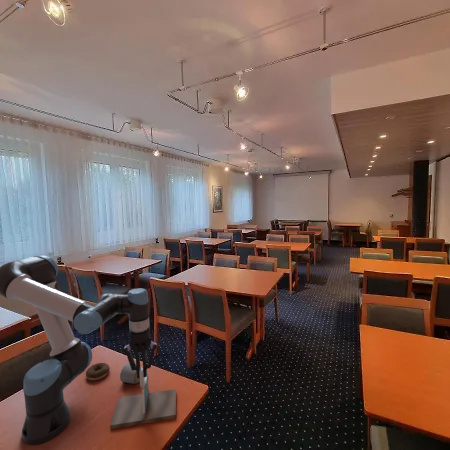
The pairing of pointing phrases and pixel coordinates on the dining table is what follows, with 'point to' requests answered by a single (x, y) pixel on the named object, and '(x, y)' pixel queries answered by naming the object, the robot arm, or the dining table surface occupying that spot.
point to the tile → (145, 394)
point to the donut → (97, 371)
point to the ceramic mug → (129, 375)
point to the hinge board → (156, 409)
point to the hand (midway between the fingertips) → (142, 384)
